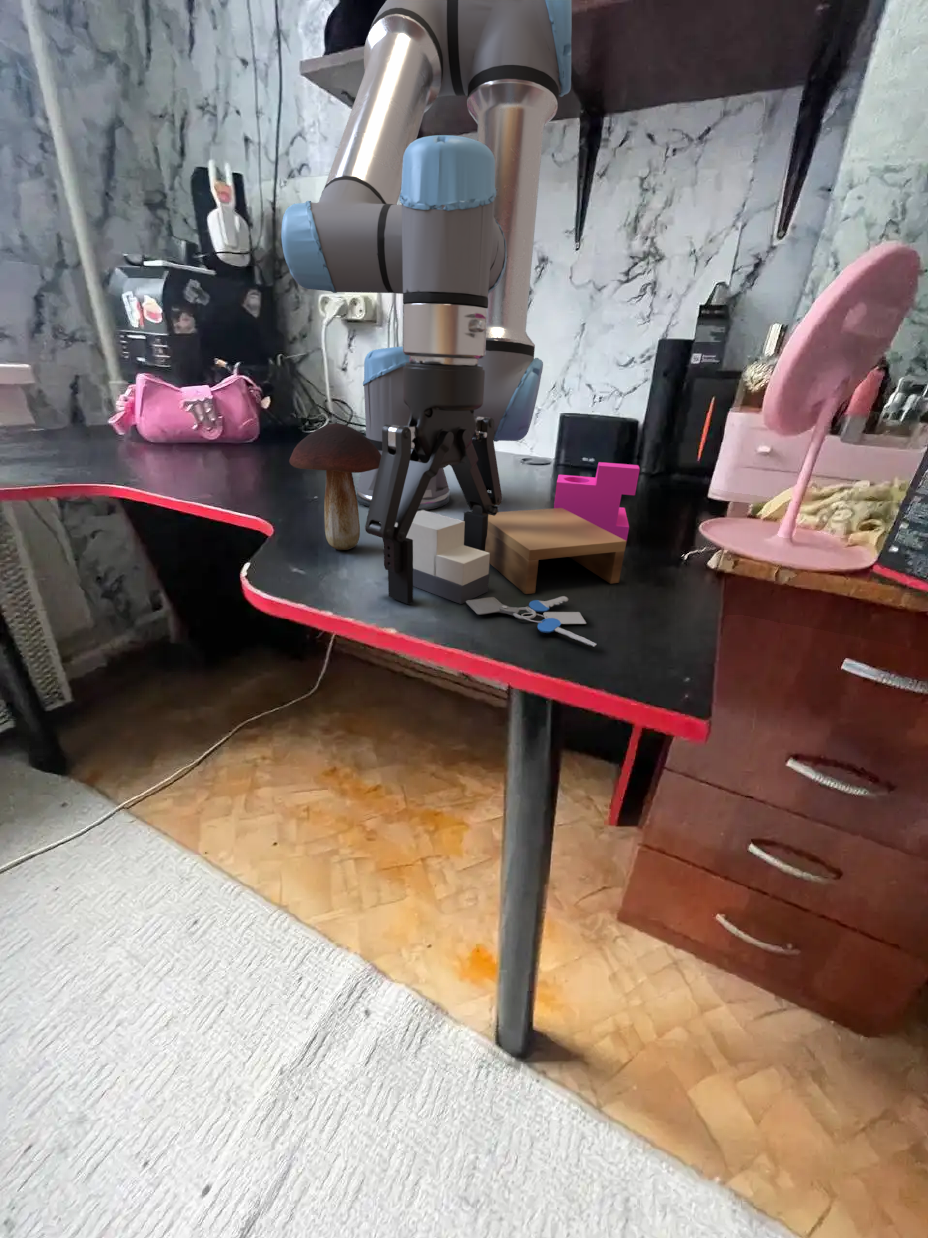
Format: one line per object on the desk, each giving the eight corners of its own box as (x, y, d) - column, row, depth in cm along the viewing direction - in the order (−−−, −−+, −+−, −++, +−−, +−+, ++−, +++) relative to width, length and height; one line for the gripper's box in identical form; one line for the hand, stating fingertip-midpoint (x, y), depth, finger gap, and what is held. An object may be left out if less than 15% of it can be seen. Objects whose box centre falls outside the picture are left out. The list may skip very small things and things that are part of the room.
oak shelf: (475, 551, 70) (477, 513, 68) (557, 544, 74) (561, 507, 72) (525, 594, 58) (529, 549, 56) (619, 582, 62) (626, 540, 60)
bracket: (625, 545, 75) (639, 468, 70) (550, 537, 76) (559, 462, 72) (621, 521, 85) (633, 453, 81) (554, 514, 87) (562, 448, 82)
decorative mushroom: (400, 542, 72) (399, 422, 65) (361, 570, 62) (355, 433, 56) (326, 531, 75) (318, 415, 68) (278, 556, 65) (263, 424, 59)
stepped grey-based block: (391, 578, 61) (390, 516, 58) (419, 567, 64) (420, 508, 61) (461, 604, 55) (464, 538, 52) (488, 591, 59) (492, 528, 55)
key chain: (456, 611, 53) (456, 603, 53) (494, 584, 60) (495, 577, 60) (594, 652, 47) (595, 643, 47) (620, 617, 54) (622, 609, 53)
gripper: (377, 361, 39) (384, 630, 49) (546, 364, 56) (526, 564, 66) (312, 357, 43) (330, 605, 53) (488, 360, 60) (477, 549, 70)
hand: (439, 583), depth 60 cm, fingers open, 11 cm apart
